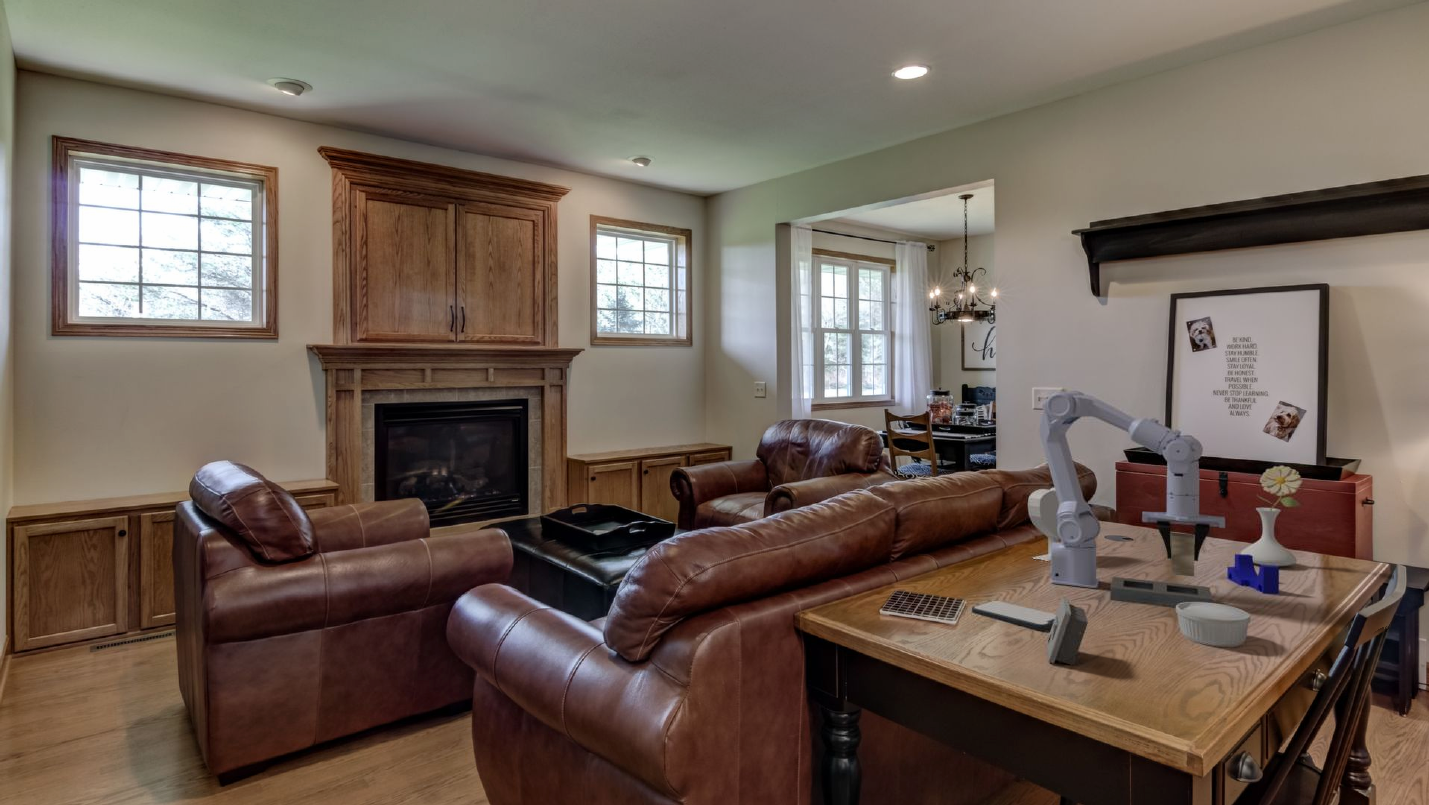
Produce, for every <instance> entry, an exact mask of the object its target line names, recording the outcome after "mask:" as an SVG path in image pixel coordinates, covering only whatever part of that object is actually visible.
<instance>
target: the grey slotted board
mask: <svg viewBox="0 0 1429 805" xmlns="http://www.w3.org/2000/svg"><path fill="white" fill-rule="evenodd" d="M1111 579H1112V580H1111V584H1110V600H1111V601H1113V600H1114V601H1120V600H1123V601H1122V602H1129V603H1136V602H1140V603H1139V604H1144V603H1146V605H1147V603H1148V605H1154V606H1161V605H1165V606H1164V607H1169V608H1176V606H1177V605H1178V604H1180V603H1185V602H1206V603H1213V596H1212V593H1211V588H1210V586H1202V585H1201V586H1199V585H1192V584H1184V583H1183V584H1181V583H1174V582H1165V581H1164V582H1163V581H1154V580H1146V579H1138V578H1137V579H1136V578H1127V577H1119V576H1113V577H1112V578H1111Z"/></svg>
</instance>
